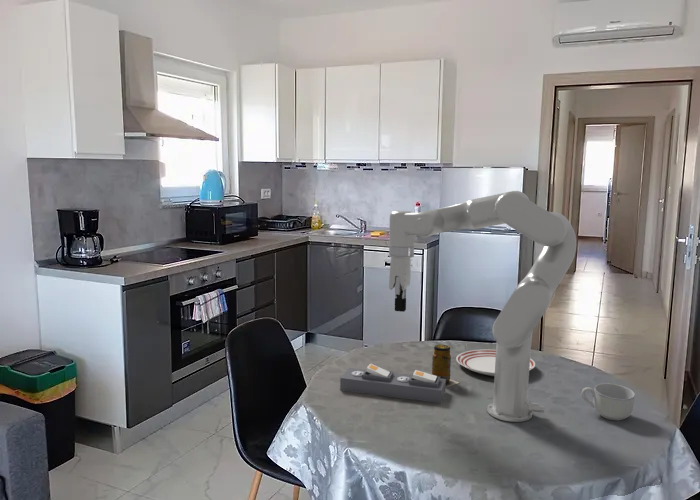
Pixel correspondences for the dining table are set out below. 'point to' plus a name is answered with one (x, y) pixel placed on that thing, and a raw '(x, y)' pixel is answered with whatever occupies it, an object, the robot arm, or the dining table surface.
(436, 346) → the condiment
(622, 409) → the teacup
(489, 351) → the dinner plate
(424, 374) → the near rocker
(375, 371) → the far rocker
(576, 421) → the dining table surface
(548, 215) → the robot arm
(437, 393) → the rocker switch panel
